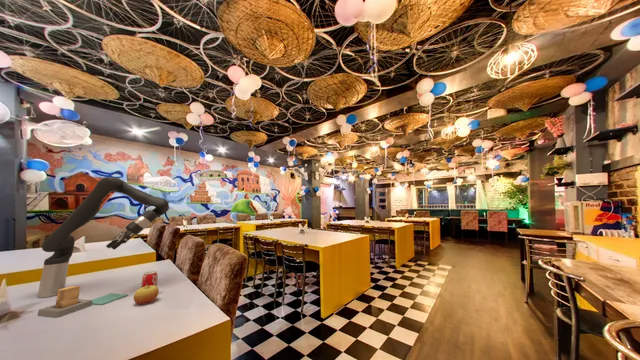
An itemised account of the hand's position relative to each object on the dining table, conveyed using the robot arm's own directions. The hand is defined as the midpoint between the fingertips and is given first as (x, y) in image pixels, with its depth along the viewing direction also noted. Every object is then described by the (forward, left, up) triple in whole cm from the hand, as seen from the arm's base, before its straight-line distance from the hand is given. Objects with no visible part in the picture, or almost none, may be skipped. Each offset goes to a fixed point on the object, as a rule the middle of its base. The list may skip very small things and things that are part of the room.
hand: (109, 248), depth 114 cm
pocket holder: (-4, -12, -27) cm, 30 cm away
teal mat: (+1, +1, -27) cm, 27 cm away
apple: (+26, +1, -27) cm, 38 cm away
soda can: (+18, +9, -27) cm, 34 cm away
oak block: (-4, -12, -27) cm, 30 cm away
